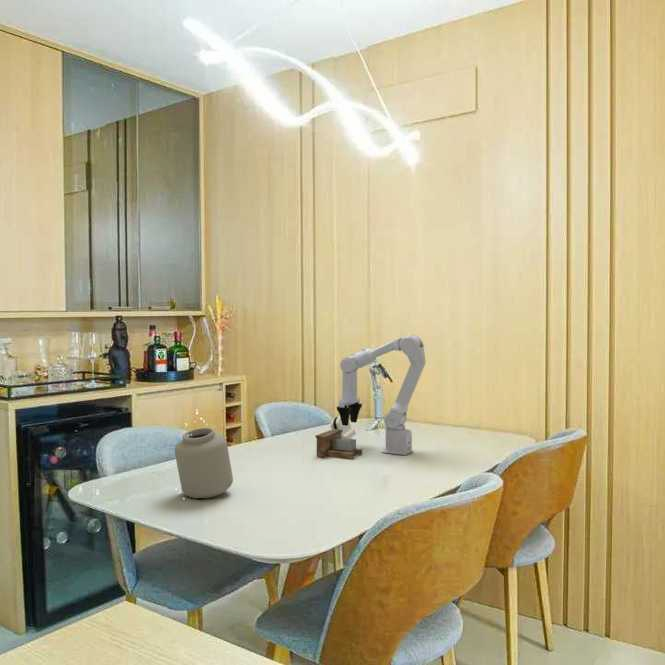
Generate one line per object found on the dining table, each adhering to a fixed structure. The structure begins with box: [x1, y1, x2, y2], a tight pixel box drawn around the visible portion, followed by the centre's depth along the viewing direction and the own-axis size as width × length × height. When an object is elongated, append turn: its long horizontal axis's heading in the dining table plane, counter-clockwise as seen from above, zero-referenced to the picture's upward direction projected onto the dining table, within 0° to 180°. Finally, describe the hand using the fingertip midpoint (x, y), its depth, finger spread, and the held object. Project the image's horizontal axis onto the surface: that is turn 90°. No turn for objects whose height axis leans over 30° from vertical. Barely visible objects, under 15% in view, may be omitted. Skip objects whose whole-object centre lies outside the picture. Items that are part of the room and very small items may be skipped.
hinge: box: [330, 415, 357, 439], centre depth 275 cm, size 17×5×10 cm, turn 165°
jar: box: [174, 409, 234, 500], centre depth 189 cm, size 19×15×25 cm
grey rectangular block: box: [332, 437, 357, 457], centre depth 241 cm, size 8×4×6 cm, turn 63°
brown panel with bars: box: [315, 429, 363, 460], centre depth 241 cm, size 13×15×8 cm
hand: (349, 423), depth 253 cm, fingers open, 7 cm apart
